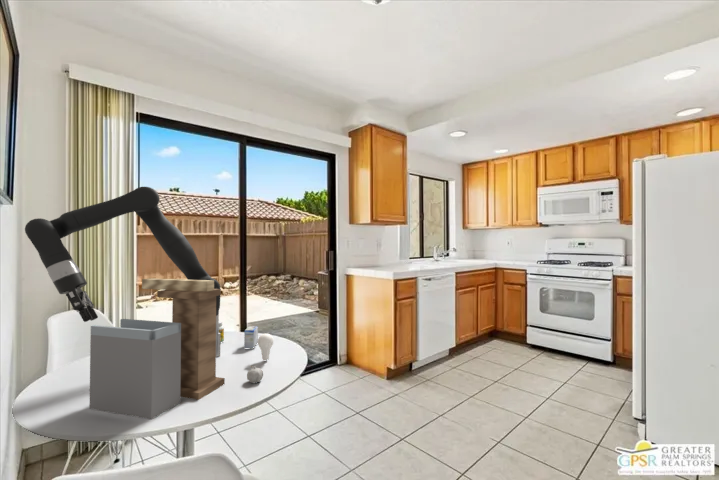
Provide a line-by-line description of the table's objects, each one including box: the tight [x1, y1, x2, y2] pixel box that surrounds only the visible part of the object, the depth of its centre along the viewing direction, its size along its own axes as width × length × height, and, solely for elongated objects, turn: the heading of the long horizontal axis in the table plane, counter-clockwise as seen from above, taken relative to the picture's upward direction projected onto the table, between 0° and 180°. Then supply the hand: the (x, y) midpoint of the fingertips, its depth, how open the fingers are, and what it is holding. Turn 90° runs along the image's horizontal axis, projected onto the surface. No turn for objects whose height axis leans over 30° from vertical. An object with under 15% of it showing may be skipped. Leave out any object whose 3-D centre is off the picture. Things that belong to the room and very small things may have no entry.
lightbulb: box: [257, 333, 275, 361], centre depth 136 cm, size 6×6×11 cm
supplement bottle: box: [219, 321, 225, 344], centre depth 163 cm, size 5×5×10 cm
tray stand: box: [89, 318, 181, 420], centre depth 99 cm, size 22×10×24 cm, turn 75°
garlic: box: [246, 365, 264, 384], centre depth 116 cm, size 6×5×5 cm
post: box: [156, 288, 226, 401], centre depth 111 cm, size 18×12×32 cm, turn 75°
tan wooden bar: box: [141, 277, 214, 292], centre depth 112 cm, size 26×3×3 cm, turn 75°
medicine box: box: [243, 325, 259, 349], centre depth 156 cm, size 8×4×9 cm, turn 5°
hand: (91, 319), depth 112 cm, fingers open, 8 cm apart
